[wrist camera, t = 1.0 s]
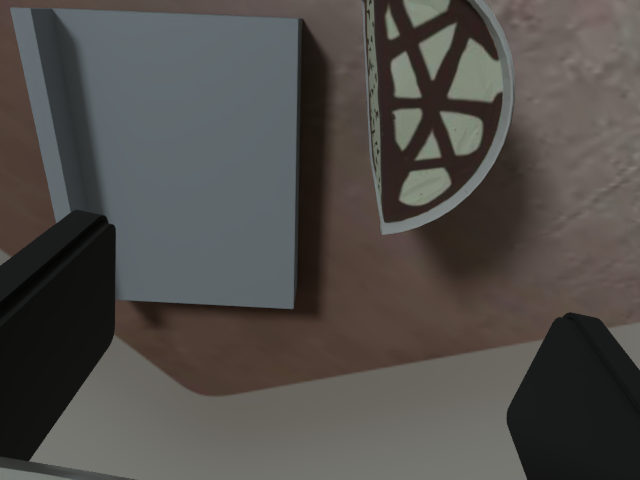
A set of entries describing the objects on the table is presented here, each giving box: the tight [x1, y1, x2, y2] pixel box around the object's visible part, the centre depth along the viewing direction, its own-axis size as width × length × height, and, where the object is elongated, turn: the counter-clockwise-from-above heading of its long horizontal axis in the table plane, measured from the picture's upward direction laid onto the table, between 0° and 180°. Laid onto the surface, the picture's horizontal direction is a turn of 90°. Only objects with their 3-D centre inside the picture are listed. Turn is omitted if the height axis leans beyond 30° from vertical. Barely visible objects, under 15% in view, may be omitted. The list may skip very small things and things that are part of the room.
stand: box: [10, 8, 302, 309], centre depth 30 cm, size 14×18×5 cm
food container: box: [362, 0, 515, 235], centre depth 25 cm, size 12×6×10 cm, turn 5°
